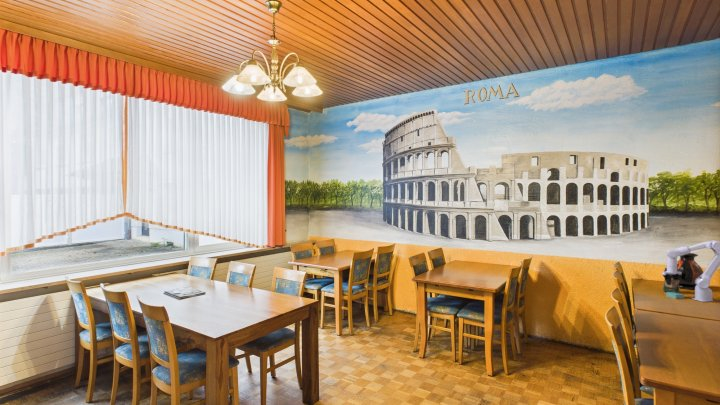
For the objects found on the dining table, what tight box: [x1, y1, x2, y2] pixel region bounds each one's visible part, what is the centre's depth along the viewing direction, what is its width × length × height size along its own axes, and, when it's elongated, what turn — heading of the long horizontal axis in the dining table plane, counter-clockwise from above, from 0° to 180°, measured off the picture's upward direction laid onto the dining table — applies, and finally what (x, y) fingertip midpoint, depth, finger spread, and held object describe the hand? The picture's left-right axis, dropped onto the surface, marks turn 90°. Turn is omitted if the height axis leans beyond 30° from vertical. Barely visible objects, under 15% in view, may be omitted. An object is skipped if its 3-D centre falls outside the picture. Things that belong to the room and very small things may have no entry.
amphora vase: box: [677, 252, 704, 291], centre depth 305 cm, size 22×22×28 cm
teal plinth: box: [665, 291, 685, 300], centre depth 275 cm, size 7×7×3 cm
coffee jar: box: [662, 267, 680, 293], centre depth 291 cm, size 10×8×19 cm
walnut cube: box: [664, 279, 678, 287], centre depth 277 cm, size 5×5×5 cm
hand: (671, 284), depth 277 cm, fingers closed on walnut cube, 5 cm apart
